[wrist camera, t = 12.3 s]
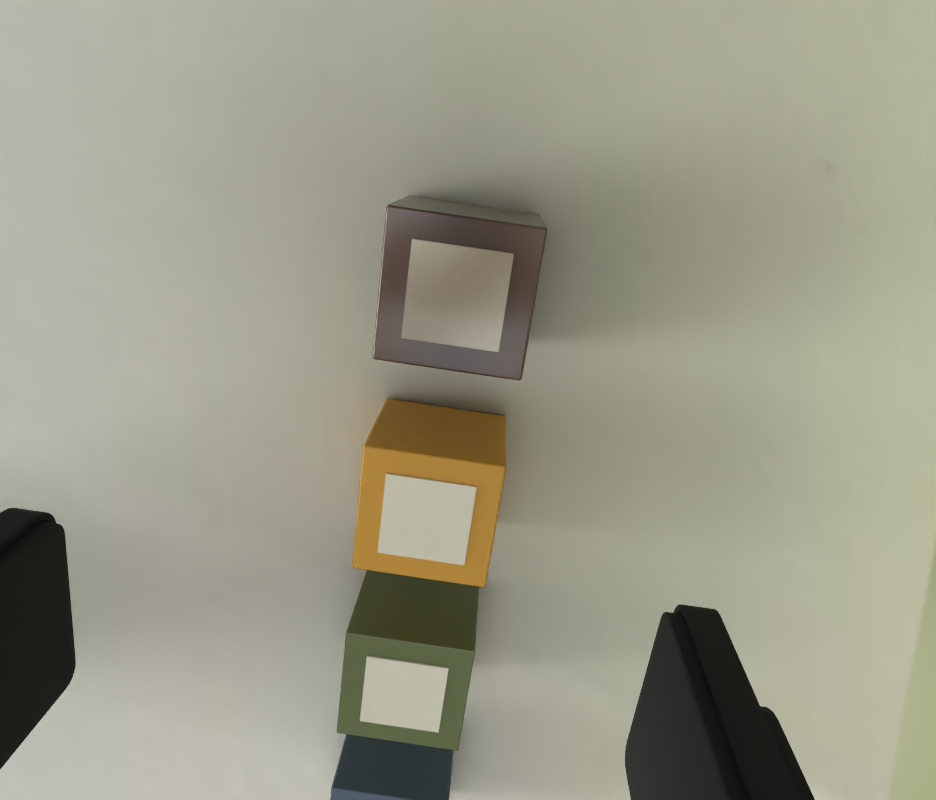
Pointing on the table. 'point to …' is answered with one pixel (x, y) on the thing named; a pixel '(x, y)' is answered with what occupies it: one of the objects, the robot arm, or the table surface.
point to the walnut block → (458, 286)
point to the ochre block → (430, 492)
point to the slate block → (391, 771)
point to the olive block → (408, 660)
